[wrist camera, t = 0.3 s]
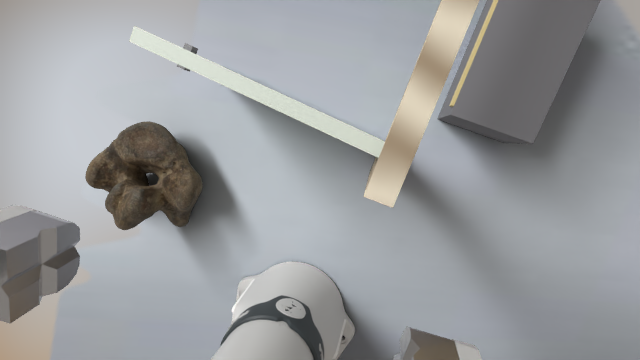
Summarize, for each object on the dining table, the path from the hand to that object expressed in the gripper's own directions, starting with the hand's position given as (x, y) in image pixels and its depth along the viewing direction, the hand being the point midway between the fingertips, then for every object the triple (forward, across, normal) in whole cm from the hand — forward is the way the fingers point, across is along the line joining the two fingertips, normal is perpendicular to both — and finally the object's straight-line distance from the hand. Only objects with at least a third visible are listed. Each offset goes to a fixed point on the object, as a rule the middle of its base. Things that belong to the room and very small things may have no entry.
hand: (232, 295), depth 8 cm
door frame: (+44, +7, +10) cm, 45 cm away
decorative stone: (+41, -26, -16) cm, 51 cm away
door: (+42, -7, -1) cm, 42 cm away
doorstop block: (+43, +16, +10) cm, 47 cm away
